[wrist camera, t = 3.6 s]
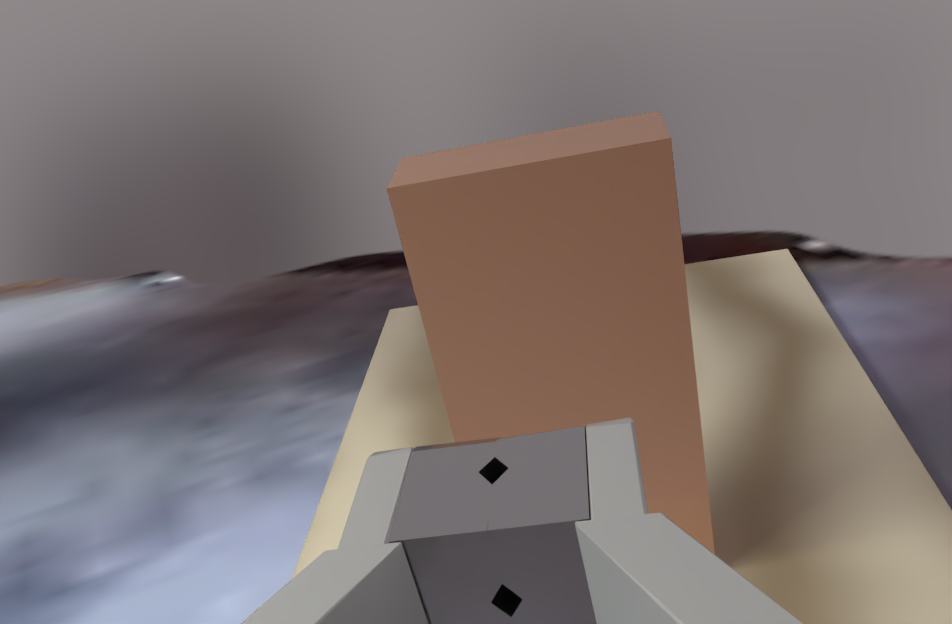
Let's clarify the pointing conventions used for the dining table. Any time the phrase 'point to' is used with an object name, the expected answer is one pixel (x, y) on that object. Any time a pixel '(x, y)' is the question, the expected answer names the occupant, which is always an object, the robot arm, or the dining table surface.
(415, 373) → the board
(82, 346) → the dining table surface
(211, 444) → the dining table surface
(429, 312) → the tile
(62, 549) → the dining table surface
